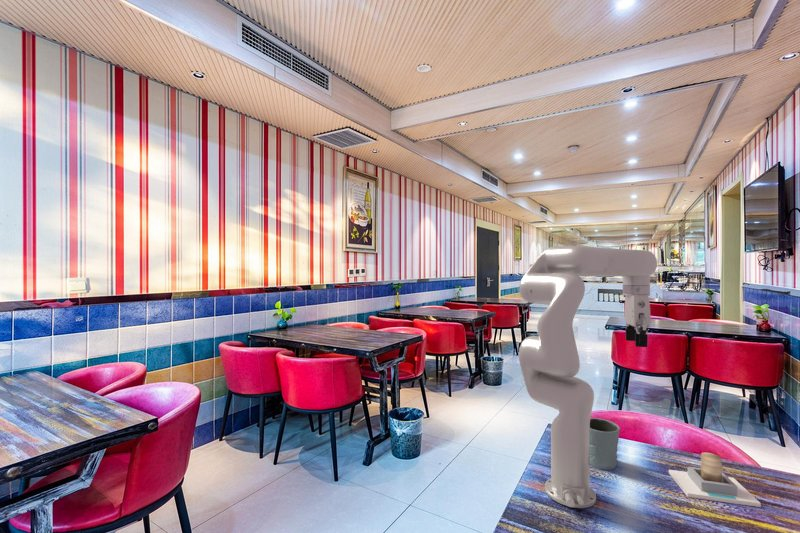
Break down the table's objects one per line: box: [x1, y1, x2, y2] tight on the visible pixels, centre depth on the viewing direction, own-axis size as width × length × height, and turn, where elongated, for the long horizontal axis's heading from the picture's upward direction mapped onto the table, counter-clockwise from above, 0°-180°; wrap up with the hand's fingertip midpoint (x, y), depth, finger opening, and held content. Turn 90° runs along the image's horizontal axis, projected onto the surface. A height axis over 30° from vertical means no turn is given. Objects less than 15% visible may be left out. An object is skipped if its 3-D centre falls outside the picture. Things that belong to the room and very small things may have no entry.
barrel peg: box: [700, 452, 723, 483], centre depth 104 cm, size 4×4×8 cm
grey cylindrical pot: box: [590, 417, 620, 471], centre depth 118 cm, size 10×10×12 cm
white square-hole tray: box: [668, 466, 762, 508], centre depth 104 cm, size 12×16×4 cm
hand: (636, 343), depth 122 cm, fingers open, 9 cm apart
